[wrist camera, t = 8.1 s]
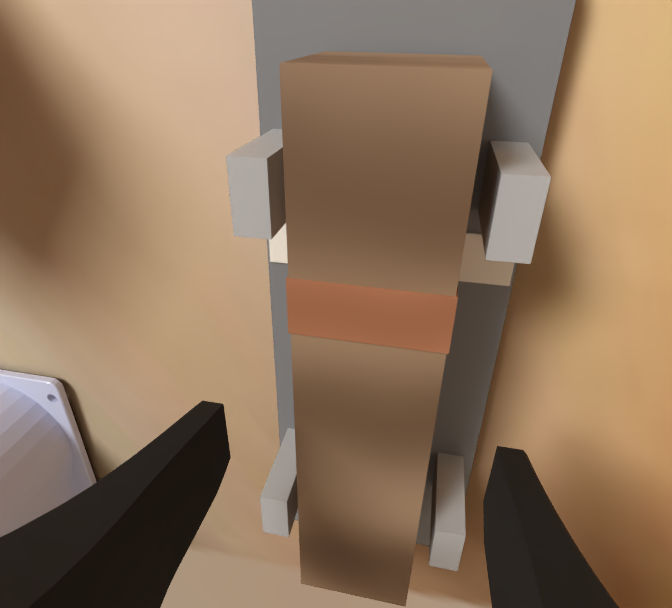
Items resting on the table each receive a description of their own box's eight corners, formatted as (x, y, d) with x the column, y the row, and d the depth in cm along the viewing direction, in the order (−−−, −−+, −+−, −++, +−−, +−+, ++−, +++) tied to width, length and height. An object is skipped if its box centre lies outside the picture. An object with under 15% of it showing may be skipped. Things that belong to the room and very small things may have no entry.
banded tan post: (414, 512, 21) (406, 608, 18) (323, 495, 22) (299, 584, 19) (483, 55, 12) (496, 70, 9) (323, 51, 13) (275, 63, 9)
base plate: (453, 531, 23) (453, 632, 19) (290, 500, 24) (260, 589, 20) (575, -35, 12) (634, -64, 8) (262, -33, 13) (185, -57, 9)
